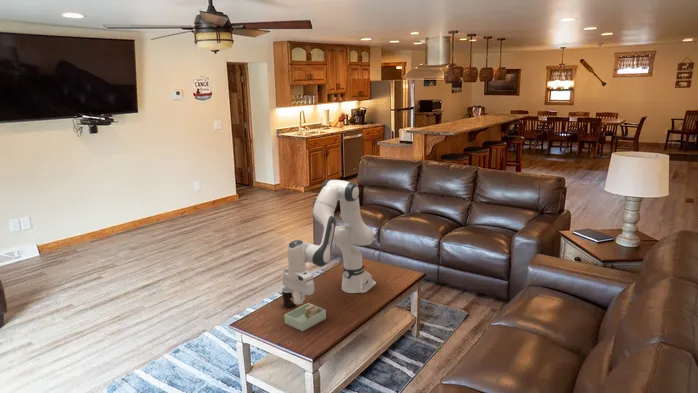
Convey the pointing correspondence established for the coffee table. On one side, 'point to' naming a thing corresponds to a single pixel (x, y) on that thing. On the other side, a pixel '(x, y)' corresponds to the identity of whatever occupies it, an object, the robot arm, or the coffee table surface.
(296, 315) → the tray
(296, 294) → the ceramic cylinder
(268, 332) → the coffee table surface
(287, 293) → the coffee mug
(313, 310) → the beech cube
